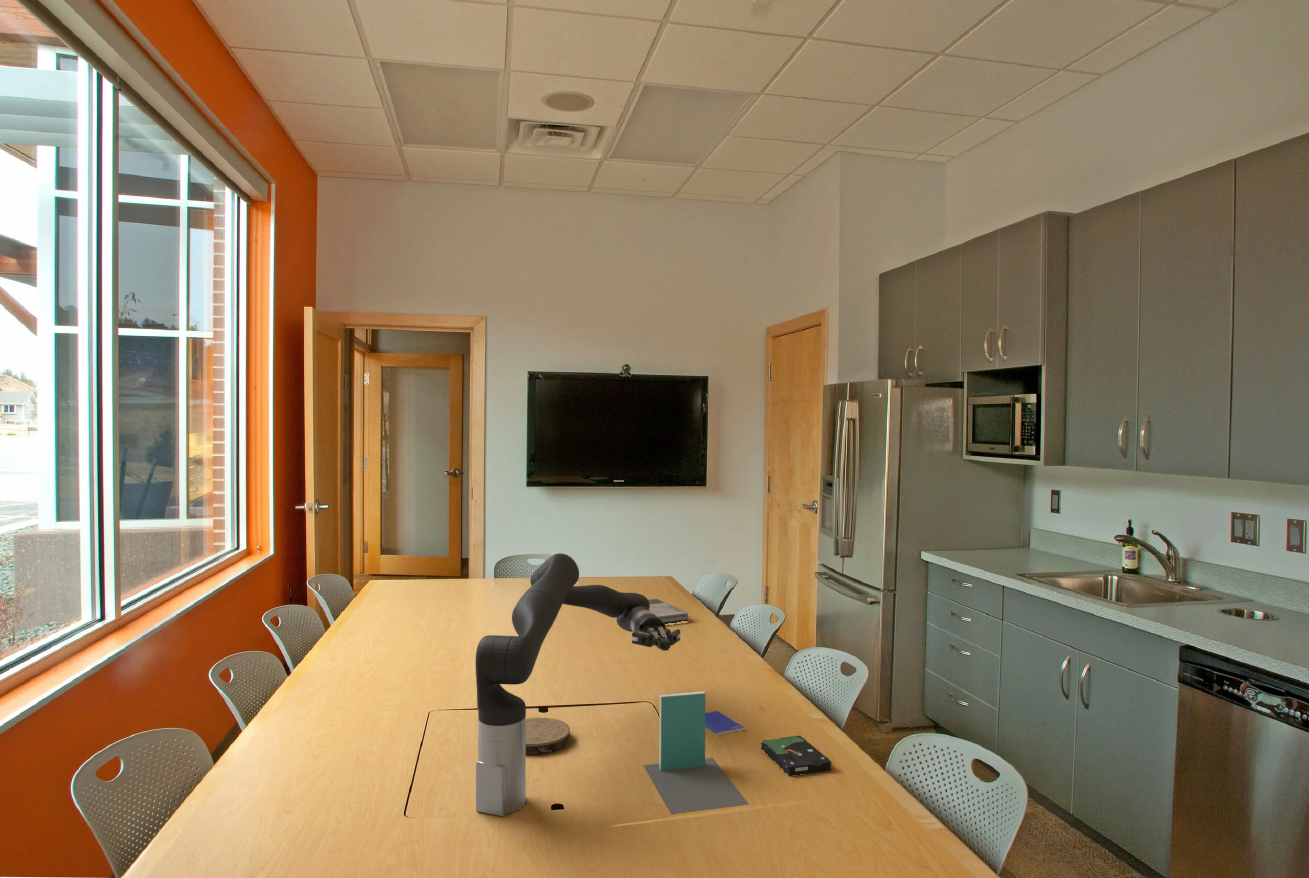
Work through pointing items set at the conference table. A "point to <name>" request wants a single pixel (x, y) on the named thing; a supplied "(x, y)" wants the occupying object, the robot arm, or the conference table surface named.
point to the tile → (682, 730)
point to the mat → (695, 788)
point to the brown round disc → (546, 736)
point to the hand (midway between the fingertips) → (665, 646)
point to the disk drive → (796, 755)
